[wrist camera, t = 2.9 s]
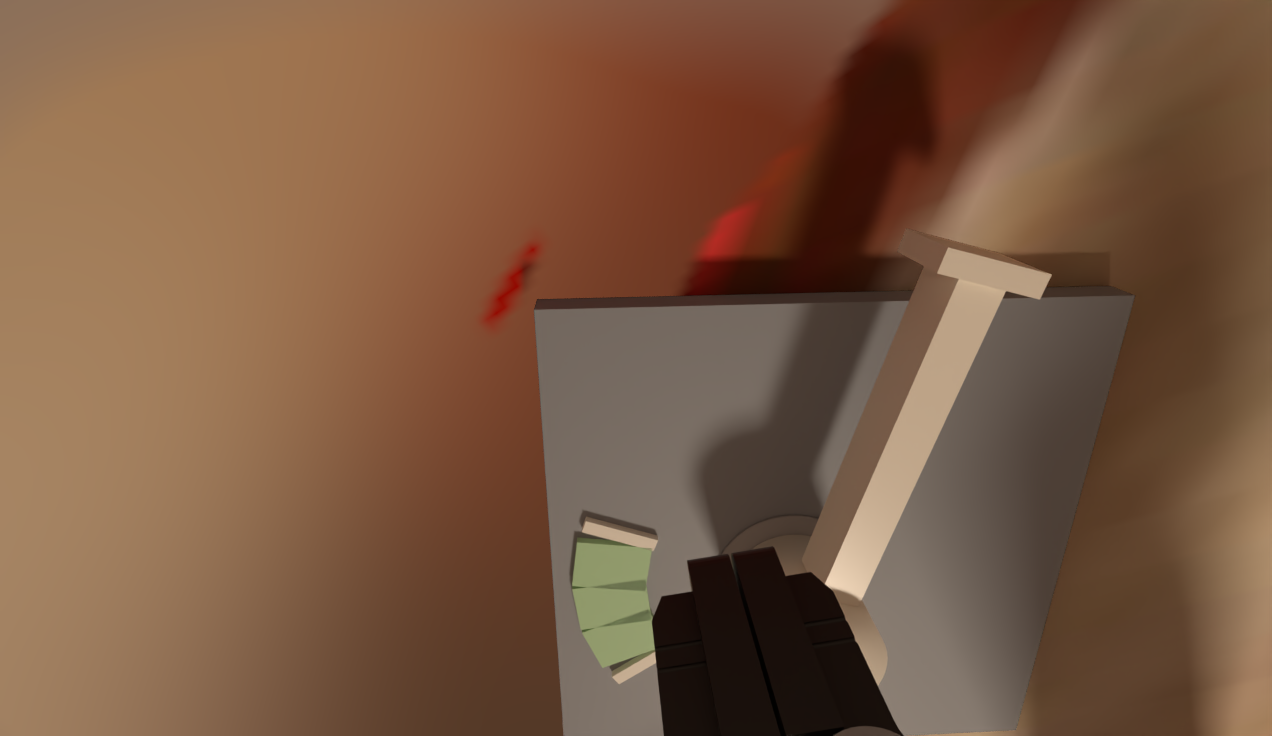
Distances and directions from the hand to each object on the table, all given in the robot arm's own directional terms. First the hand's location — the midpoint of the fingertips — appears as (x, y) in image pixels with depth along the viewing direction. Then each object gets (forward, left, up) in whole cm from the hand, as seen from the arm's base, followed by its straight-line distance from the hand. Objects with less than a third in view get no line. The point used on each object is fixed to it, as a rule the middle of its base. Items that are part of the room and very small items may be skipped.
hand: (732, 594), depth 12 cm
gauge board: (-9, -6, -13) cm, 17 cm away
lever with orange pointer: (-7, -5, -11) cm, 14 cm away
